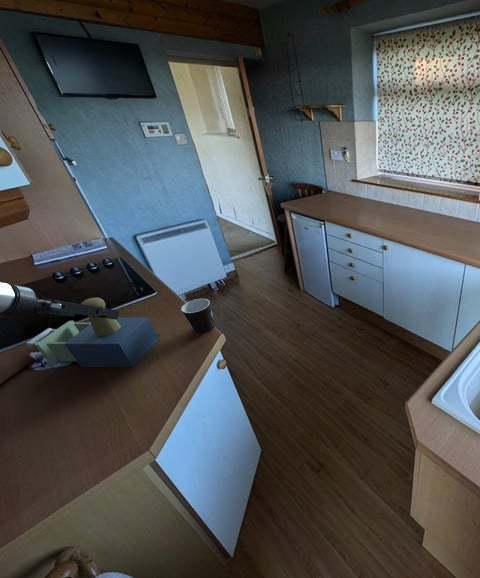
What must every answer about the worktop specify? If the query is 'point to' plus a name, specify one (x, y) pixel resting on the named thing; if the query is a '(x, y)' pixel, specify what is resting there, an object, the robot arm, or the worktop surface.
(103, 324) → the cork
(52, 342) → the drawer
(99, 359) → the block
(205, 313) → the coffee mug
